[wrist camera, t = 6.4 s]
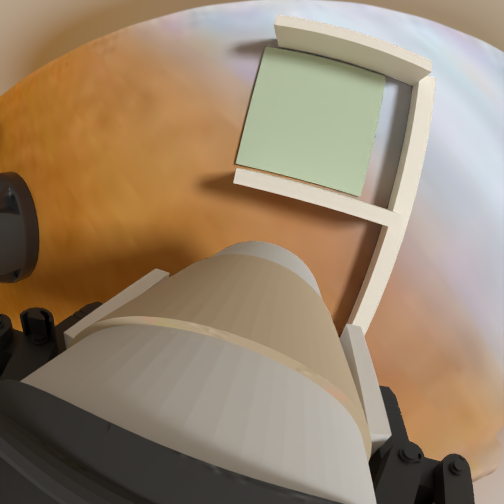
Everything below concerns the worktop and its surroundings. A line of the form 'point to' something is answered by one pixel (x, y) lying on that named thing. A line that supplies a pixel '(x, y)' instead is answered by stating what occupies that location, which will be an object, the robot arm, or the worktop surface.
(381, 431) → the robot arm
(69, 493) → the coffee cup
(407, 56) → the e-shaped divided frame
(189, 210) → the worktop surface
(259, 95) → the pad
